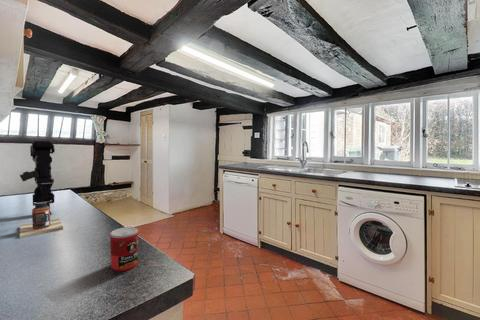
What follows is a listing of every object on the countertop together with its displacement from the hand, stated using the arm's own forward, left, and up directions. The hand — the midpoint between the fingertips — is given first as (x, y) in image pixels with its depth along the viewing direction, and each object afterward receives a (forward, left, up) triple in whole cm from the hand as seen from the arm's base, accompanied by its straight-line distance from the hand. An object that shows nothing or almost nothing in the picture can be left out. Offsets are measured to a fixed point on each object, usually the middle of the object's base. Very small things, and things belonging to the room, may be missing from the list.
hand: (44, 196), depth 111 cm
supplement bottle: (+15, -2, -12) cm, 19 cm away
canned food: (+74, +15, -13) cm, 77 cm away
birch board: (+12, -2, -13) cm, 18 cm away
